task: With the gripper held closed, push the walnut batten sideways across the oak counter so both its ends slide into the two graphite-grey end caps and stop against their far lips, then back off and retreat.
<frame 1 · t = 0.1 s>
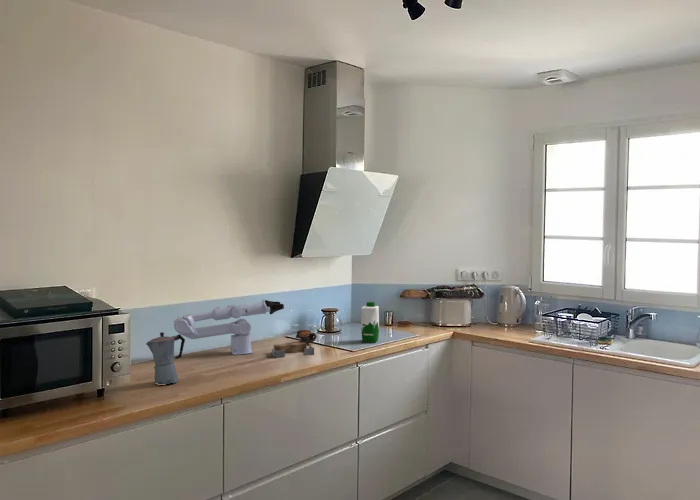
hand: (281, 305, 278), 22 cm above the counter, tool horizontal, fingers open, 7 cm apart
cap b: (311, 353, 270), on the counter
slat: (290, 352, 273), on the counter
milk carton: (370, 341, 295), on the counter
pottery mug: (306, 344, 291), on the counter
moka pot: (166, 383, 224), on the counter
cap a: (274, 356, 264), on the counter
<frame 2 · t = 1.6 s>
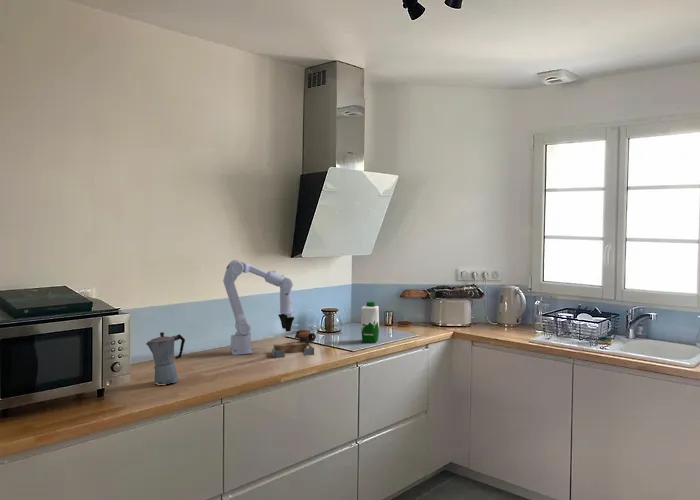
hand: (286, 329, 279), 9 cm above the counter, tool pointing down, fingers open, 7 cm apart
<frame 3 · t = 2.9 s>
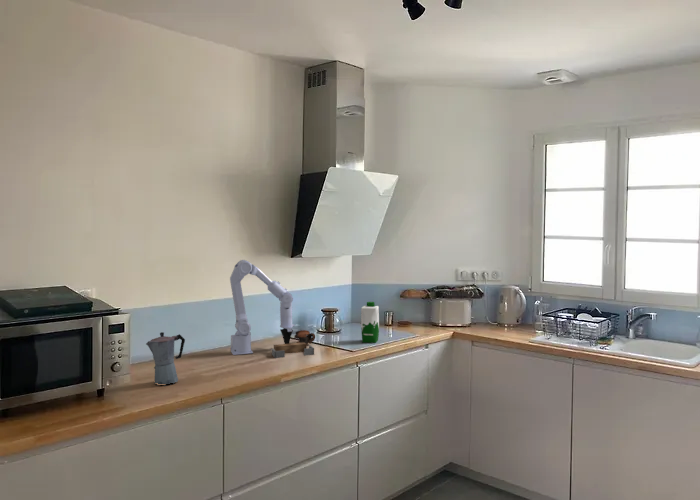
hand: (286, 343, 280), 3 cm above the counter, tool pointing down, fingers closed
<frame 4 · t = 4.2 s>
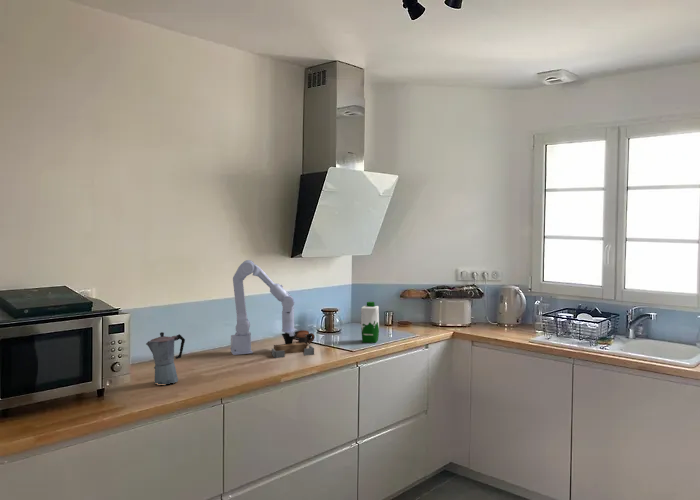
hand: (288, 348, 276), 1 cm above the counter, tool pointing down, fingers closed
slat: (290, 352, 273), on the counter, touching gripper
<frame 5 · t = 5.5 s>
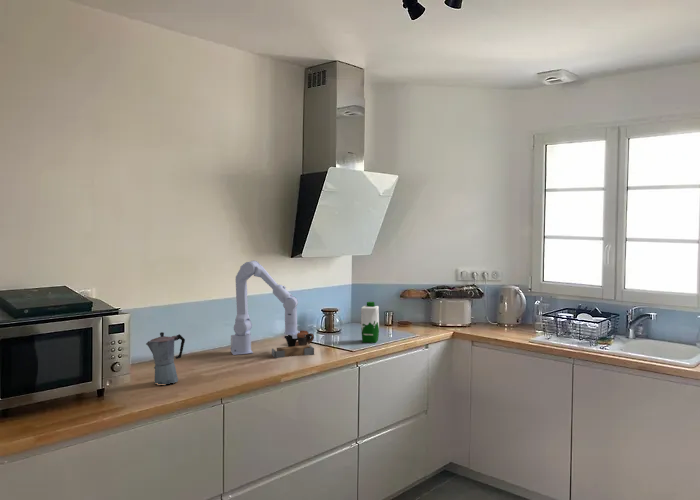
hand: (291, 351, 270), 1 cm above the counter, tool pointing down, fingers closed
slat: (293, 355, 267), on the counter
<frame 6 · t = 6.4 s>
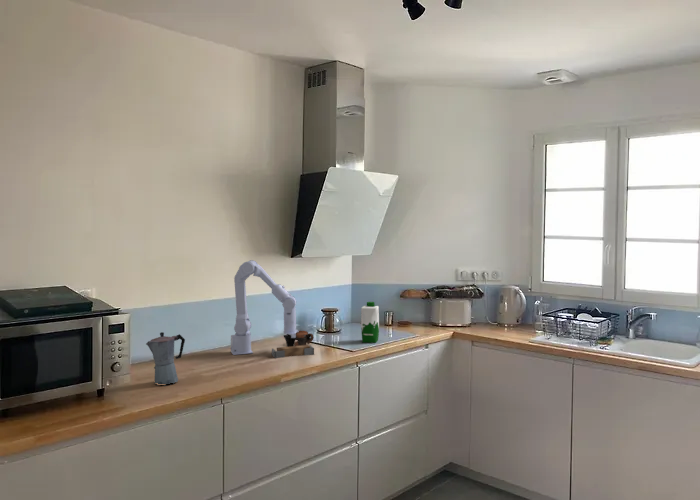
hand: (290, 350, 272), 1 cm above the counter, tool pointing down, fingers closed
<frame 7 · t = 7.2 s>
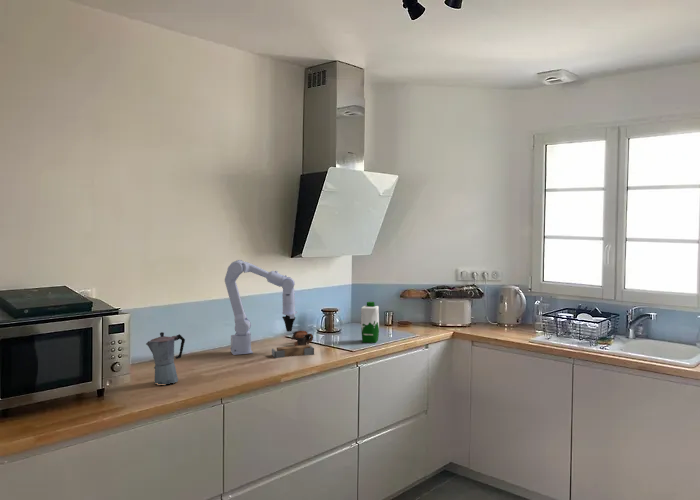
hand: (289, 331, 273), 10 cm above the counter, tool pointing down, fingers closed
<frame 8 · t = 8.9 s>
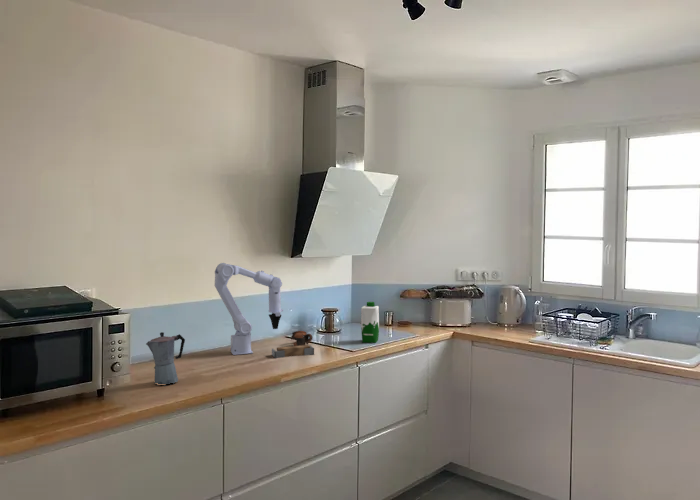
hand: (275, 328, 280), 10 cm above the counter, tool pointing down, fingers closed
at the end: slat 0.1 cm from the target spot, on the counter; slat tilted 0°; the gripper is holding nothing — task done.
